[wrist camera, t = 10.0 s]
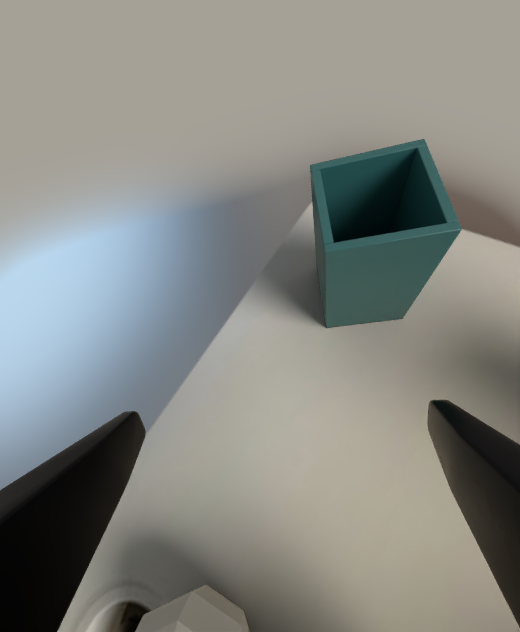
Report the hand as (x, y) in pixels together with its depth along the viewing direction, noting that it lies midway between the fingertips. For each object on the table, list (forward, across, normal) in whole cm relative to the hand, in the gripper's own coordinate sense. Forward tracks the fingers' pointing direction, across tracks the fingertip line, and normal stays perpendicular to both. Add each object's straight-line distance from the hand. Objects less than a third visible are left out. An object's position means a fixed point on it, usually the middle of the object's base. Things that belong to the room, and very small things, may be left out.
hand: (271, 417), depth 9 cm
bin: (+17, -5, +2) cm, 18 cm away
